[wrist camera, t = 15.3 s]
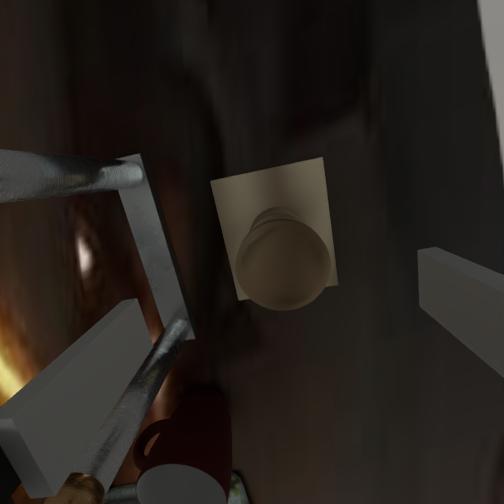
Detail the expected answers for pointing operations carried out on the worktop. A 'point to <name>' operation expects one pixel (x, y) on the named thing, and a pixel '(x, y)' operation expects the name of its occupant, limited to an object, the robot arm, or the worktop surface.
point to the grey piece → (160, 279)
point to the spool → (282, 261)
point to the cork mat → (274, 205)
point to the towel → (125, 500)
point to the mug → (187, 454)
